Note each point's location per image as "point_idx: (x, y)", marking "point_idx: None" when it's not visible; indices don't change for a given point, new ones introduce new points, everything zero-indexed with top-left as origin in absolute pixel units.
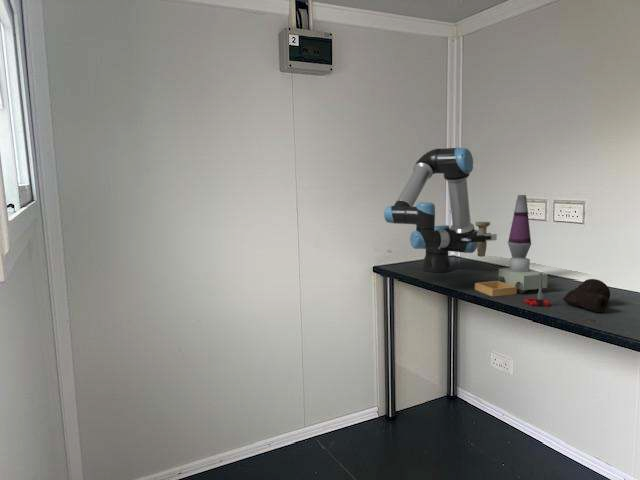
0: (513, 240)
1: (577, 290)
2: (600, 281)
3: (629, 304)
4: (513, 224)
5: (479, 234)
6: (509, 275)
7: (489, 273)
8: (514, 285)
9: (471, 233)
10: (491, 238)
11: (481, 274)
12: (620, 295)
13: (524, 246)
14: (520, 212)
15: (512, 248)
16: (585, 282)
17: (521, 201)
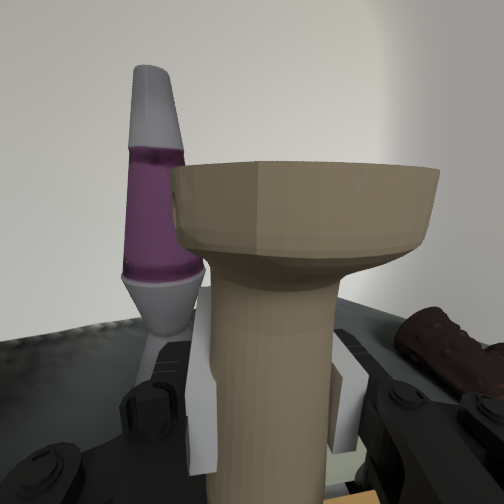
0: (170, 271)
1: (476, 360)
2: (439, 308)
3: (402, 320)
4: (151, 204)
5: (304, 410)
6: None
7: (37, 424)
8: (351, 475)
9: (63, 495)
10: None
11: (11, 469)
12: (339, 305)
13: (202, 279)
14: (174, 149)
15: (166, 302)
16: (433, 325)
17: (167, 98)
